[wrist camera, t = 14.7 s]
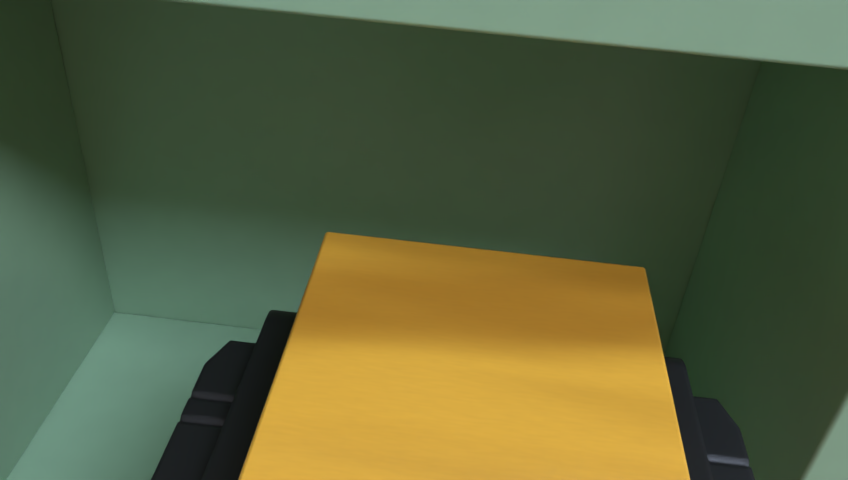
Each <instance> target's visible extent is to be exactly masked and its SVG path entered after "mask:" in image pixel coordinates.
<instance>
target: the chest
mask: <svg viewBox="0 0 848 480" xmlns="http://www.w3.org/2000/svg"><path fill="white" fill-rule="evenodd" d="M326 232H335V233H344V234H353V235H361V236H370V237H379V238H388V239H397V240H406V241H415V242H424V243H433V244H442V245H451V246H459V247H468V248H477V249H486V250H495V251H504V252H513V253H522V254H531V255H540V256H549V257H557V258H566V259H575V260H584V261H593V262H602V263H611V264H620V265H629V266H638V267H643V268H645V270H646V275H647V279H648V284H649V289H650V294H651V298H652V303H653V308H654V312H655V317H656V322H657V326H658V331H659V336H660V340H661V345H662V350H663V354H664V356H665V357H674V358H681V359H682V360H683V361H684V363H685V366H686V369H687V373H688V377H689V381H690V385H691V389H692V394H693V396H696V397H704V398H713V399H717V400H718V401H719V402H720V404H721V405H722V406H723V407H724V409H725V410H726V411H727V413H728V414H729V415H730V417H731V418H732V419H733V420H734V422H735V423H736V424H737V426H738V427H739V428H740V431H741V434H742V437H743V441H744V444H745V447H746V451H747V454H748V458H749V467H751V468H752V471H753V475H754V478H755V480H848V0H0V480H151V478H152V476H153V474H154V472H155V470H156V468H157V466H158V463H159V461H160V459H161V457H162V455H163V453H164V450H165V448H166V446H167V444H168V442H169V440H170V437H171V435H172V433H173V431H174V429H175V427H176V425H177V422H180V419H181V414H182V412H183V409H184V407H185V405H186V403H187V401H188V399H189V398H191V394H192V390H193V388H194V386H195V384H196V381H197V379H198V377H199V375H200V373H201V371H202V368H203V366H204V364H205V363H206V362H207V361H208V360H209V359H210V358H211V357H212V356H214V355H215V354H216V353H217V352H218V351H219V350H220V349H221V348H222V347H223V346H225V345H226V344H227V343H228V342H229V341H230V340H232V341H240V342H249V343H256V342H257V339H258V337H259V334H260V332H261V329H262V327H263V324H264V322H265V319H266V317H267V315H268V313H269V311H270V310H279V311H287V312H296V313H297V312H298V309H299V306H300V303H301V300H302V297H303V295H304V292H305V289H306V286H307V283H308V280H309V278H310V275H311V272H312V269H313V266H314V264H315V261H316V258H317V255H318V252H319V249H320V247H321V244H322V241H323V238H324V235H325V233H326Z"/></svg>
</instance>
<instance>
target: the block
mask: <svg viewBox="0 0 848 480" xmlns="http://www.w3.org/2000/svg"><path fill="white" fill-rule="evenodd" d="M238 480H690V476H689V471H688V467H687V462H686V457H685V453H684V448H683V443H682V439H681V434H680V429H679V425H678V420H677V415H676V411H675V406H674V401H673V396H672V392H671V387H670V382H669V378H668V373H667V368H666V364H665V359H664V354H663V350H662V345H661V340H660V336H659V331H658V326H657V322H656V317H655V312H654V308H653V303H652V298H651V294H650V289H649V284H648V279H647V275H646V270H645V268H643V267H638V266H629V265H620V264H611V263H602V262H593V261H584V260H575V259H566V258H557V257H549V256H540V255H531V254H522V253H513V252H504V251H495V250H486V249H477V248H468V247H459V246H451V245H442V244H433V243H424V242H415V241H406V240H397V239H388V238H379V237H370V236H361V235H353V234H344V233H335V232H326V233H325V235H324V238H323V241H322V244H321V247H320V249H319V252H318V255H317V258H316V261H315V264H314V266H313V269H312V272H311V275H310V278H309V280H308V283H307V286H306V289H305V292H304V295H303V297H302V300H301V303H300V306H299V309H298V312H297V314H296V317H295V320H294V323H293V326H292V328H291V331H290V334H289V337H288V340H287V343H286V345H285V348H284V351H283V354H282V357H281V360H280V362H279V365H278V368H277V371H276V374H275V376H274V379H273V382H272V385H271V388H270V391H269V393H268V396H267V399H266V402H265V405H264V407H263V410H262V413H261V416H260V419H259V422H258V424H257V427H256V430H255V433H254V436H253V439H252V441H251V444H250V447H249V450H248V453H247V455H246V458H245V461H244V464H243V467H242V470H241V472H240V475H239V478H238Z"/></svg>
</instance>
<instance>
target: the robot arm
mask: <svg viewBox="0 0 848 480" xmlns="http://www.w3.org/2000/svg"><path fill="white" fill-rule="evenodd" d="M296 314H297V313H296V312H287V311H279V310H270V311H269V313H268V315H267V317H266V319H265V322H264V324H263V327H262V329H261V332H260V334H259V337H258V339H257V342H256V343H249V342H240V341H232V340H230V341H229V342H228V343H227V344H226V345H225V346H223V347H222V348H221V349H220V350H219V351H218V352H217V353H216V354H215V355H214V356H212V357H211V358H210V359H209V360H208V361H207V362H206V363H205V364H204V366H203V368H202V371H201V373H200V375H199V377H198V379H197V381H196V384H195V386H194V388H193V390H192V394H191V398H189V399H188V401H187V403H186V405H185V407H184V409H183V412H182V414H181V419H180V422H177V425H176V427H175V429H174V431H173V433H172V435H171V437H170V440H169V442H168V444H167V446H166V448H165V450H164V453H163V455H162V457H161V459H160V461H159V463H158V466H157V468H156V470H155V472H154V474H153V476H152V478H151V480H238V478H239V475H240V472H241V470H242V467H243V464H244V461H245V458H246V455H247V453H248V450H249V447H250V444H251V441H252V439H253V436H254V433H255V430H256V427H257V424H258V422H259V419H260V416H261V413H262V410H263V407H264V405H265V402H266V399H267V396H268V393H269V391H270V388H271V385H272V382H273V379H274V376H275V374H276V371H277V368H278V365H279V362H280V360H281V357H282V354H283V351H284V348H285V345H286V343H287V340H288V337H289V334H290V331H291V328H292V326H293V323H294V320H295V317H296ZM664 359H665V364H666V368H667V373H668V378H669V382H670V387H671V392H672V396H673V401H674V406H675V411H676V415H677V420H678V425H679V429H680V434H681V439H682V443H683V448H684V453H685V457H686V462H687V467H688V471H689V476H690V480H755V478H754V475H753V471H752V468H751V467H749V458H748V454H747V451H746V447H745V444H744V441H743V437H742V434H741V431H740V428H739V427H738V426H737V424H736V423H735V422H734V420H733V419H732V418H731V417H730V415H729V414H728V413H727V411H726V410H725V409H724V407H723V406H722V405H721V404H720V402H719V401H718V400H717V399H713V398H704V397H696V396H693V394H692V389H691V385H690V381H689V377H688V373H687V369H686V366H685V363H684V361H683V360H682V359H681V358H674V357H665V356H664Z"/></svg>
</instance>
